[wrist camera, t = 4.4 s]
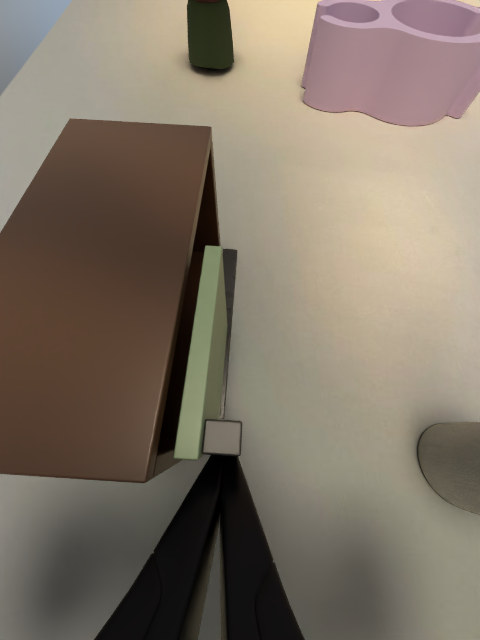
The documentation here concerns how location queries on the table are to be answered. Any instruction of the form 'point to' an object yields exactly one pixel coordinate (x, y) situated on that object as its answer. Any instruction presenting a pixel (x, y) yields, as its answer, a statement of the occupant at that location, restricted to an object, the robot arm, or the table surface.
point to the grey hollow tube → (453, 462)
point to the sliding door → (207, 372)
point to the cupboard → (105, 300)
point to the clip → (394, 59)
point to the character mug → (209, 34)
